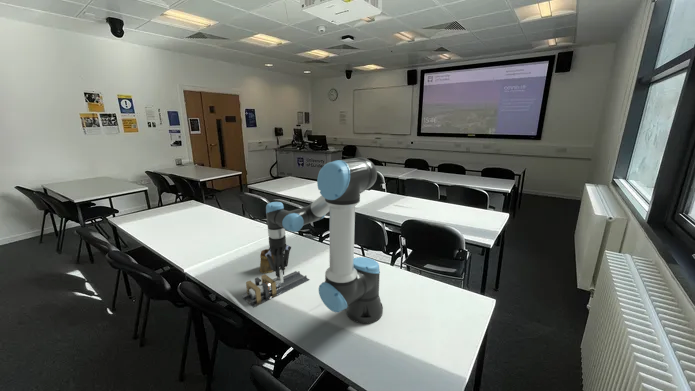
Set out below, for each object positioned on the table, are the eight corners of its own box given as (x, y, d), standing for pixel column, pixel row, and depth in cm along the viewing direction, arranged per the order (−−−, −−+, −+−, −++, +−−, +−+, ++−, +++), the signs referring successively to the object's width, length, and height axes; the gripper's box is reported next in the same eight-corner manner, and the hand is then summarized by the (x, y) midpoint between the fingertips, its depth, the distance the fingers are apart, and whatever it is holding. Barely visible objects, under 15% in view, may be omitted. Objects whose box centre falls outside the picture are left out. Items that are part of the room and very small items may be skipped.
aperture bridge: (269, 297, 125) (268, 285, 123) (266, 299, 124) (265, 286, 122) (258, 289, 131) (257, 277, 130) (256, 290, 130) (254, 278, 129)
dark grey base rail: (310, 281, 139) (310, 278, 139) (253, 309, 119) (253, 305, 118) (295, 272, 147) (295, 269, 147) (240, 297, 127) (240, 293, 126)
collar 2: (276, 294, 128) (275, 281, 126) (272, 296, 126) (271, 283, 125) (266, 286, 134) (265, 274, 132) (262, 287, 132) (261, 275, 131)
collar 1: (261, 301, 122) (260, 288, 121) (257, 303, 121) (255, 290, 119) (251, 292, 129) (250, 280, 127) (247, 294, 127) (245, 282, 126)
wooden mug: (270, 280, 140) (267, 247, 136) (256, 271, 149) (253, 239, 145) (285, 273, 147) (283, 241, 142) (271, 264, 156) (268, 234, 151)
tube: (277, 285, 135) (275, 276, 135) (282, 286, 132) (280, 277, 132) (250, 298, 126) (247, 288, 126) (254, 299, 123) (252, 289, 122)
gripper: (284, 229, 135) (287, 273, 141) (259, 237, 126) (264, 284, 132) (293, 234, 129) (296, 279, 136) (268, 242, 121) (272, 290, 127)
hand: (280, 281), depth 134 cm, fingers closed
